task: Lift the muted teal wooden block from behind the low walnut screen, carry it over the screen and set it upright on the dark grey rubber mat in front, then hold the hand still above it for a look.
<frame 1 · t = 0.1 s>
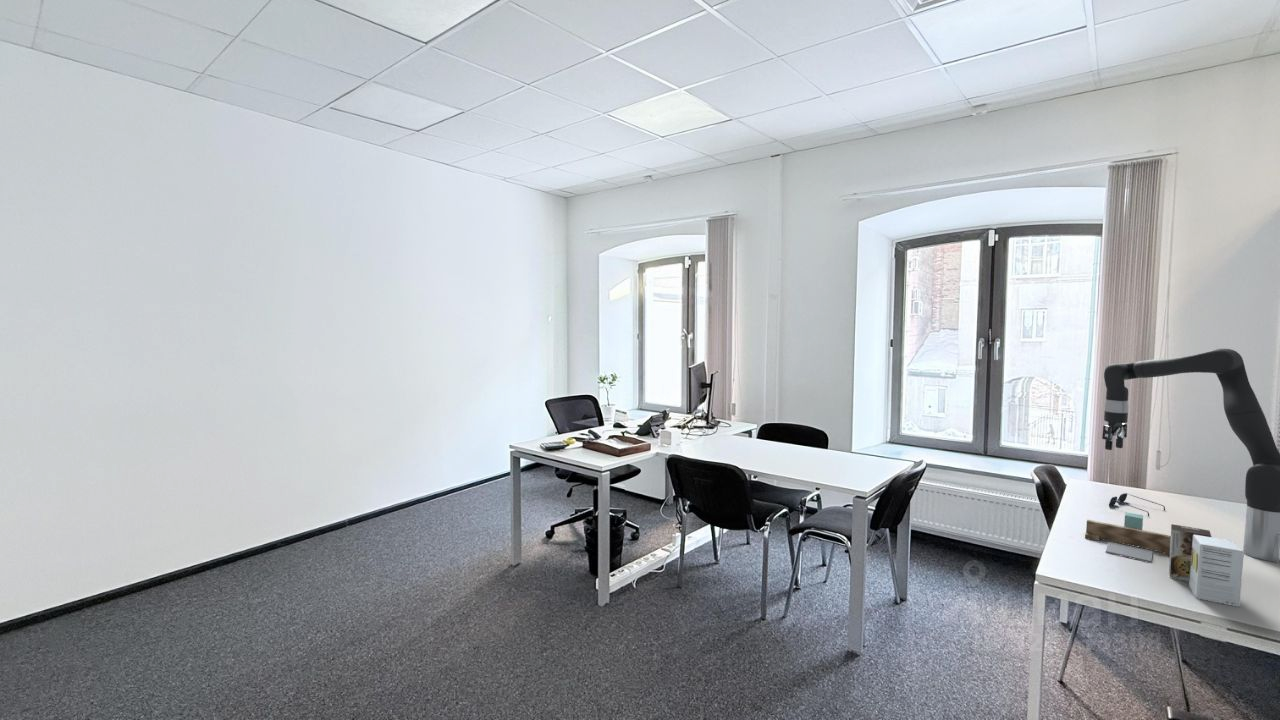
hand: (1113, 448, 233), 29 cm above the table, tool pointing down, fingers open, 8 cm apart
supplement box: (1213, 597, 165), on the table
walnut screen: (1131, 544, 204), on the table
grey mat: (1129, 552, 197), on the table
teal block: (1132, 538, 211), on the table
coffee box: (1187, 579, 177), on the table
sunglasses: (1136, 510, 245), on the table
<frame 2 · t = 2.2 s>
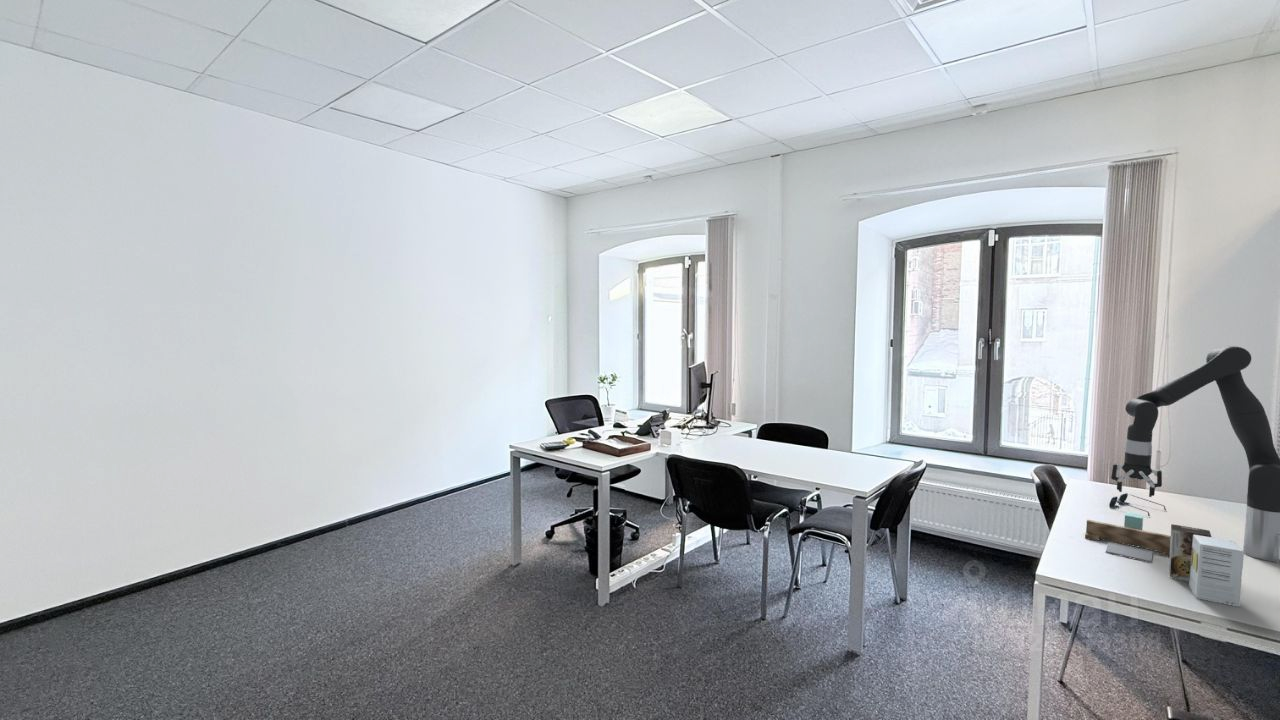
hand: (1135, 494, 210), 17 cm above the table, tool pointing down, fingers open, 8 cm apart
nothing on the table moved.
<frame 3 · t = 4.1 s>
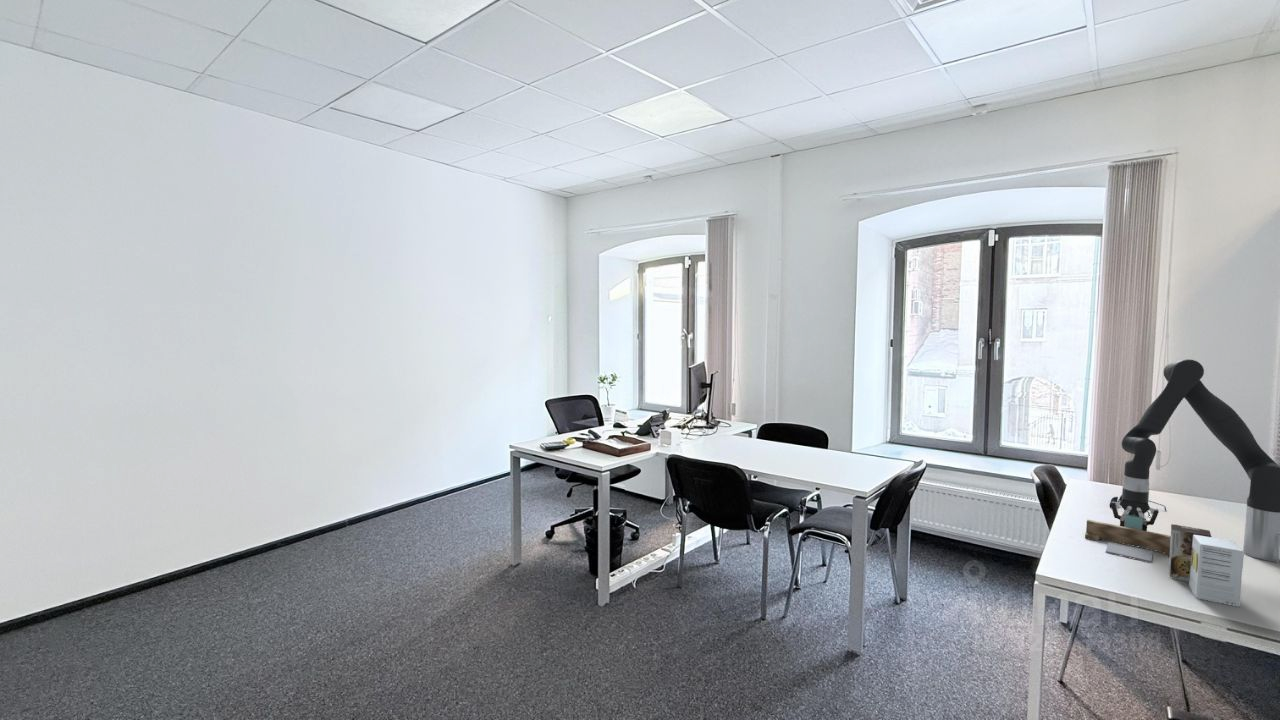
hand: (1132, 531, 211), 2 cm above the table, tool pointing down, fingers closed on teal block, 5 cm apart
teal block: (1132, 538, 211), on the table, touching gripper
everything else where it was.
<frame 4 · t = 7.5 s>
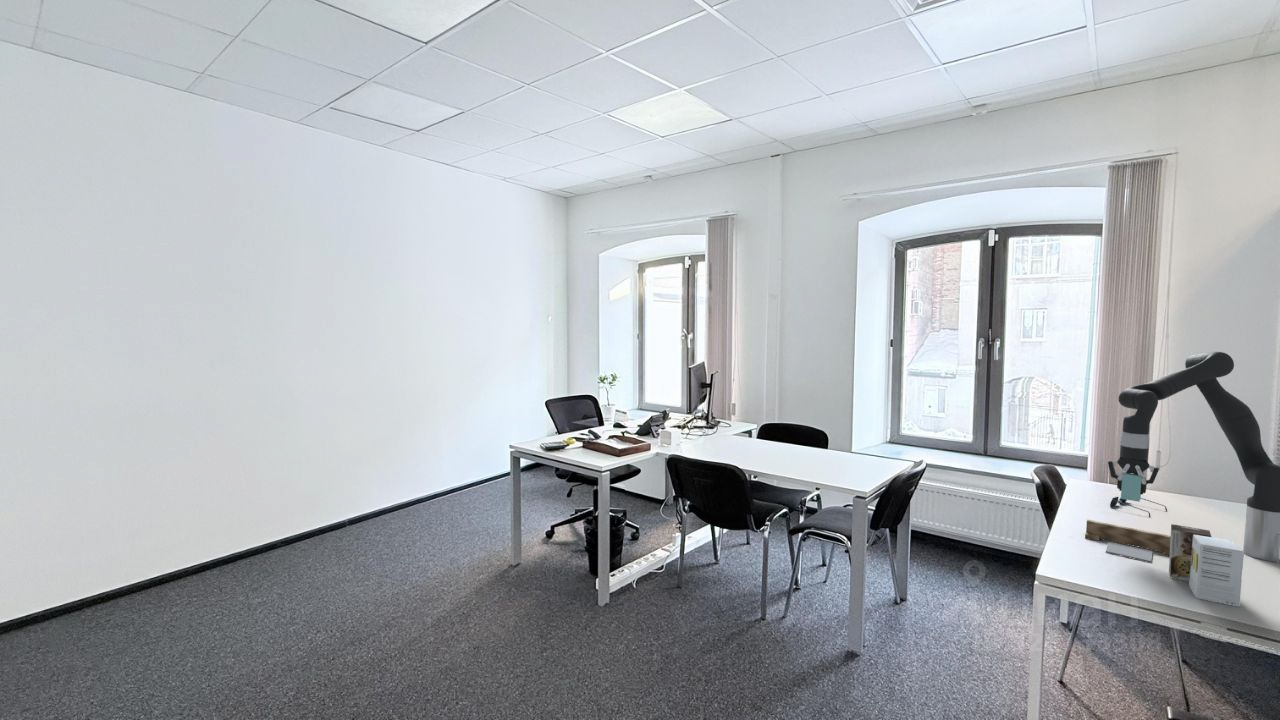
hand: (1131, 492, 197), 22 cm above the table, tool pointing down, fingers closed on teal block, 5 cm apart
teal block: (1130, 498, 197), point 19 cm above the table, touching gripper
everything else where it was.
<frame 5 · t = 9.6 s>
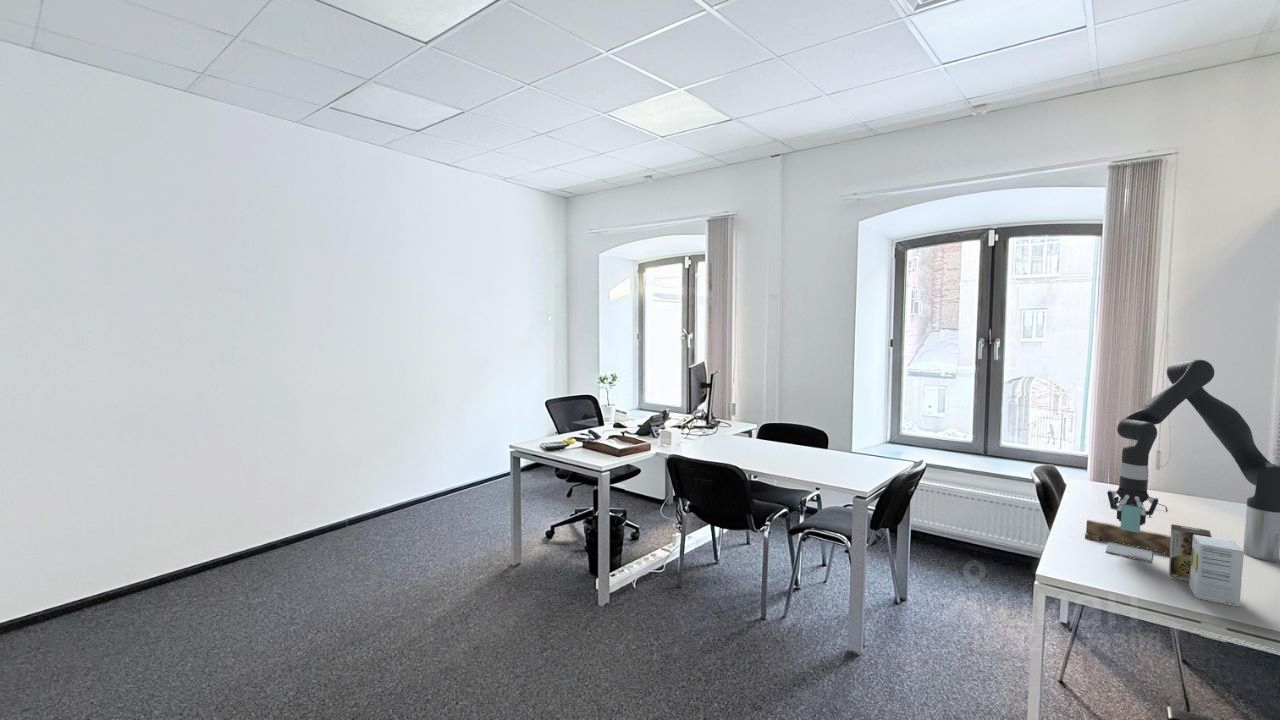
hand: (1130, 522, 197), 11 cm above the table, tool pointing down, fingers closed on teal block, 5 cm apart
teal block: (1130, 529, 197), point 8 cm above the table, touching gripper
everything else where it was.
when the fingers open (4 cm above the table, at t = 11.3 s): teal block drops 1 cm, resting on grey mat.
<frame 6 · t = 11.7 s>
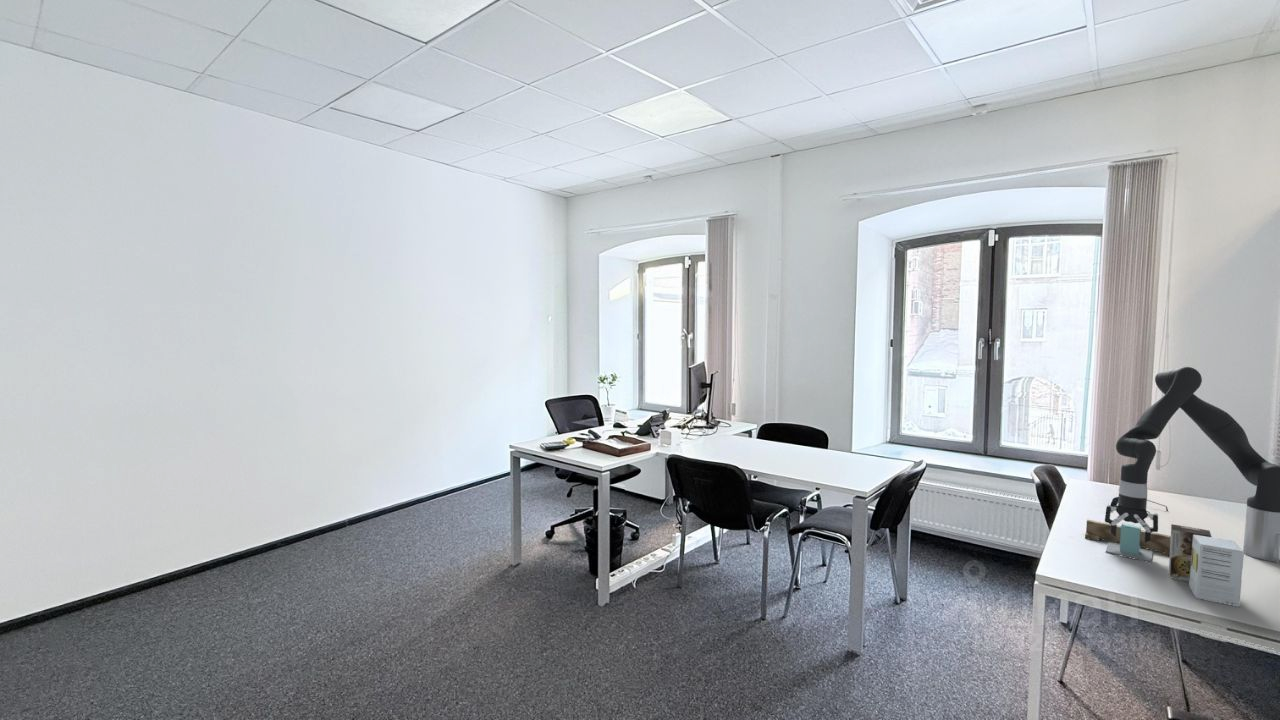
hand: (1130, 538, 197), 5 cm above the table, tool pointing down, fingers open, 8 cm apart
teal block: (1129, 550, 197), point 1 cm above the table, touching grey mat
everything else where it was.
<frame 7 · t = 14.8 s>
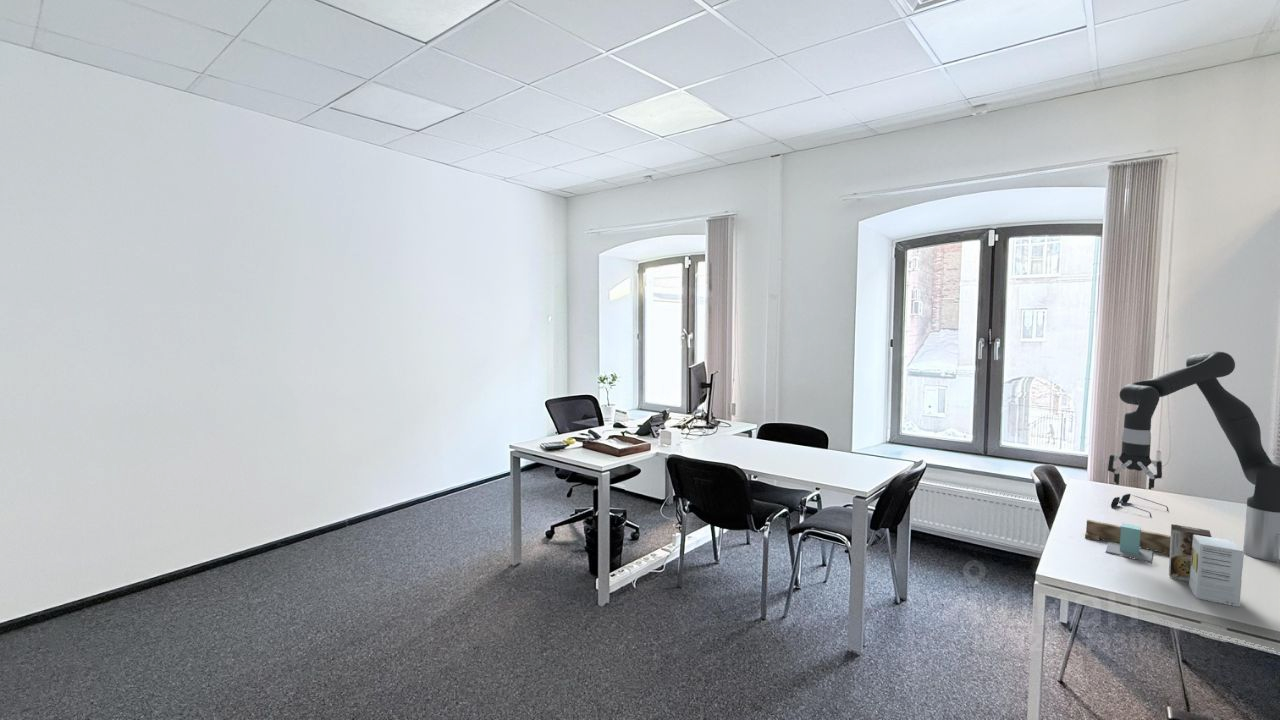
hand: (1133, 486, 196), 24 cm above the table, tool pointing down, fingers open, 8 cm apart
nothing on the table moved.
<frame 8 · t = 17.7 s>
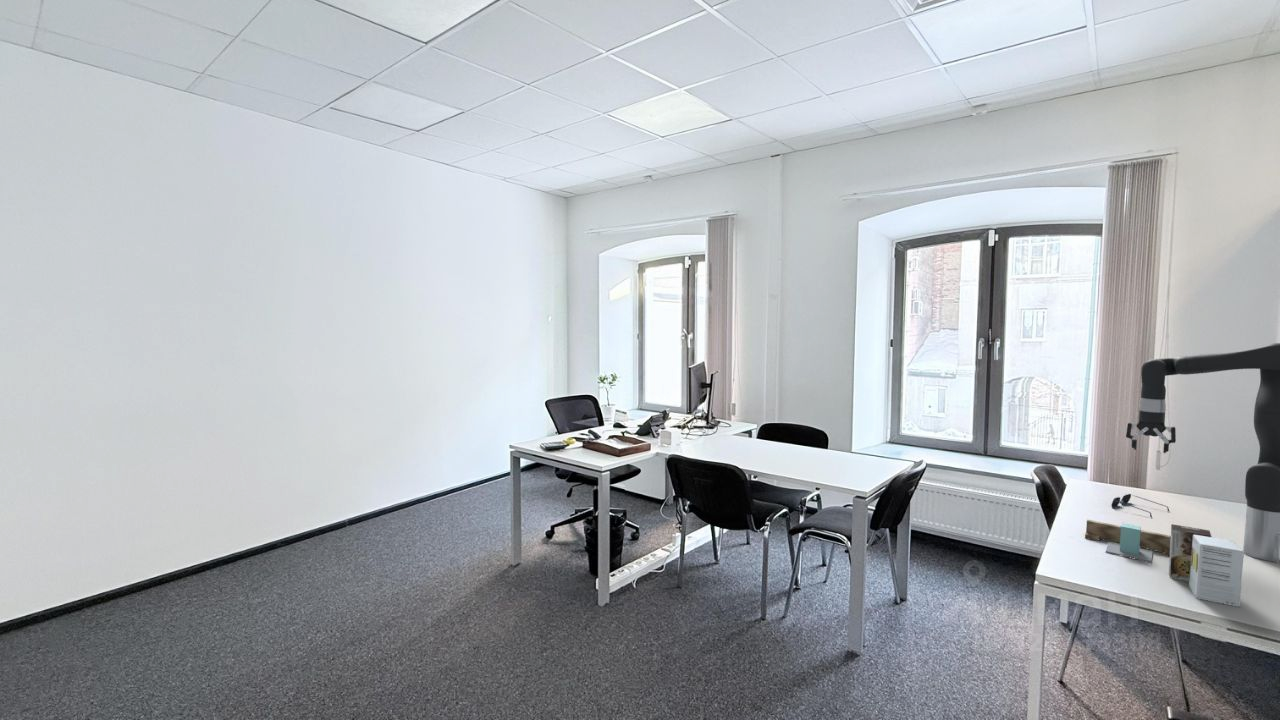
hand: (1149, 451, 216), 32 cm above the table, tool pointing down, fingers open, 8 cm apart
at the end: teal block inside the target area on the grey mat (0.1 cm from its centre), point 0.6 cm above the grey mat's base; teal block tilted 0°; the gripper is holding nothing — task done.
